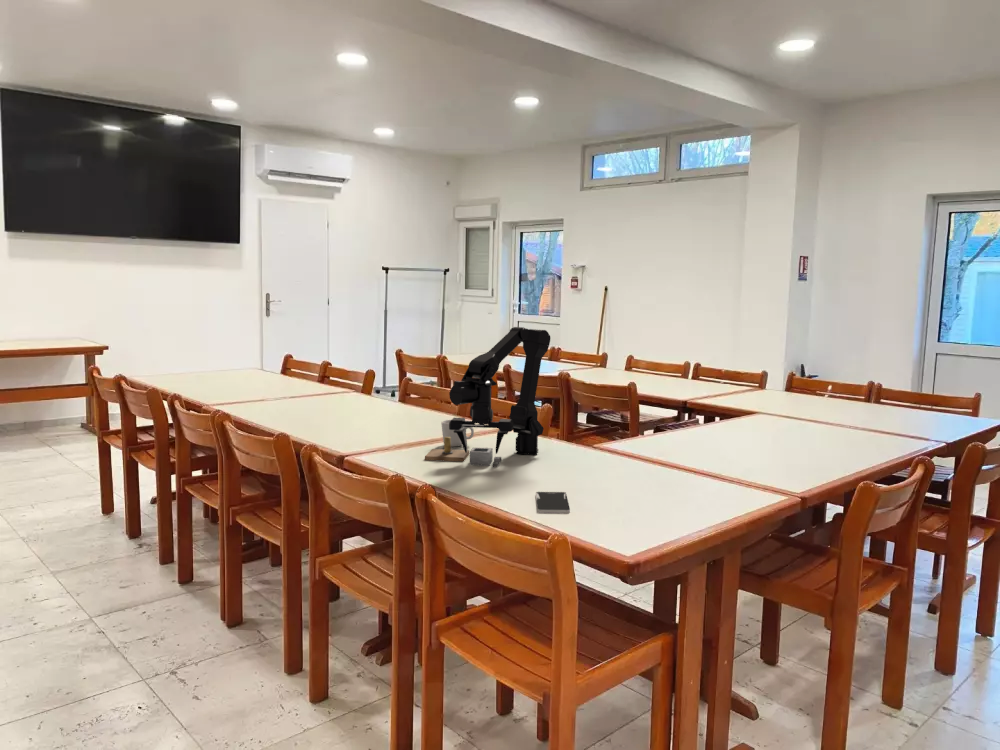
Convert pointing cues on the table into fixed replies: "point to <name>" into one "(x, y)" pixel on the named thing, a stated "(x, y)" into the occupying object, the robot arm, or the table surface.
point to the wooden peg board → (447, 453)
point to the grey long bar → (496, 461)
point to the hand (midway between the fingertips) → (481, 452)
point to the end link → (481, 456)
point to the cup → (453, 434)
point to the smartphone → (552, 502)
